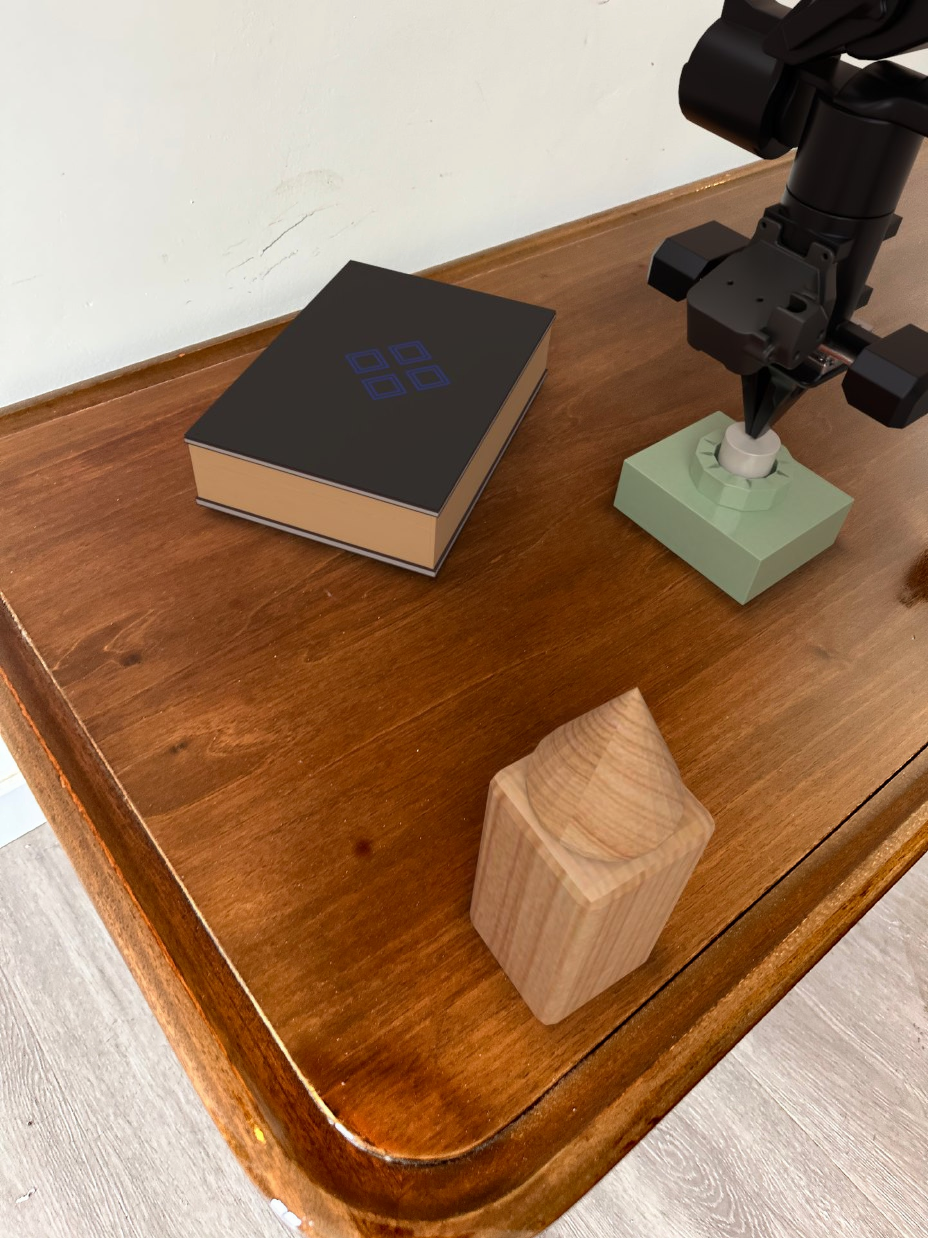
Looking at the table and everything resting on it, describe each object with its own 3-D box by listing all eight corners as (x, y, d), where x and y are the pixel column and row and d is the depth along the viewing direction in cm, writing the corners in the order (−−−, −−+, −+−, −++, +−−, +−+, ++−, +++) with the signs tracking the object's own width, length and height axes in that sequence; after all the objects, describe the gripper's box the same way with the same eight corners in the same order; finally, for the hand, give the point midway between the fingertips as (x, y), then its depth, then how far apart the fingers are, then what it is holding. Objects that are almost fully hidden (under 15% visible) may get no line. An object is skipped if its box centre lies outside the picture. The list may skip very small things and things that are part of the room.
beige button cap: (782, 466, 63) (792, 442, 61) (748, 487, 61) (757, 462, 60) (740, 439, 65) (749, 414, 63) (706, 458, 63) (714, 433, 62)
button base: (833, 544, 67) (865, 478, 62) (742, 606, 62) (770, 539, 58) (704, 455, 72) (725, 388, 68) (612, 505, 68) (628, 438, 63)
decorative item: (569, 853, 49) (649, 589, 34) (653, 960, 46) (782, 717, 31) (463, 917, 47) (500, 661, 32) (543, 1036, 43) (627, 811, 28)
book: (197, 513, 65) (182, 434, 60) (351, 332, 81) (349, 258, 76) (434, 587, 61) (438, 510, 56) (545, 383, 77) (556, 309, 72)
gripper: (607, 161, 50) (566, 405, 62) (907, 319, 41) (793, 570, 53) (741, 120, 56) (679, 352, 67) (1035, 252, 46) (905, 494, 58)
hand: (754, 434), depth 61 cm, fingers closed
